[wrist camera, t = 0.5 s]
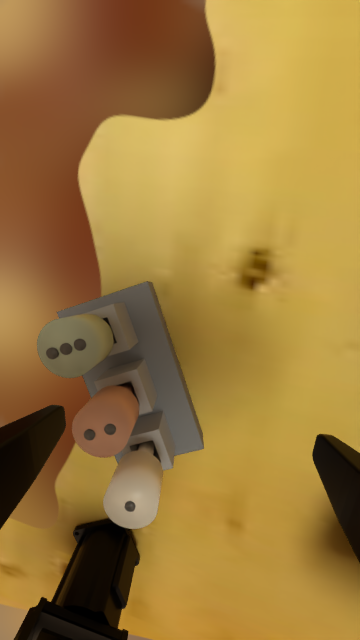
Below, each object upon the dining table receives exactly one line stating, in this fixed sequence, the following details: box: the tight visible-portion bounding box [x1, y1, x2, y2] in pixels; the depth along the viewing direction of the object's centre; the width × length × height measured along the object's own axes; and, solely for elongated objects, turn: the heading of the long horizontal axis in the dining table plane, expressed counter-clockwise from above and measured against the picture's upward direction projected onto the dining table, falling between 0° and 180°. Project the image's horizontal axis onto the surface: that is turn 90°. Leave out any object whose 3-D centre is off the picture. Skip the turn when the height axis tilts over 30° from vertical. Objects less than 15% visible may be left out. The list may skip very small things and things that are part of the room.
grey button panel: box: [57, 281, 204, 470], centre depth 18 cm, size 9×17×4 cm, turn 18°
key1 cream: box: [103, 440, 163, 529], centre depth 15 cm, size 4×4×5 cm
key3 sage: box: [37, 314, 114, 378], centre depth 13 cm, size 4×4×5 cm
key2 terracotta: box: [72, 383, 139, 457], centre depth 14 cm, size 4×4×5 cm
